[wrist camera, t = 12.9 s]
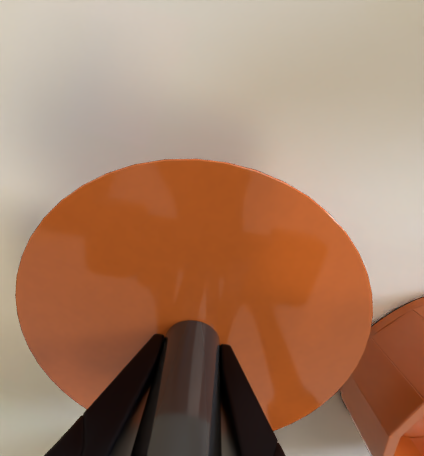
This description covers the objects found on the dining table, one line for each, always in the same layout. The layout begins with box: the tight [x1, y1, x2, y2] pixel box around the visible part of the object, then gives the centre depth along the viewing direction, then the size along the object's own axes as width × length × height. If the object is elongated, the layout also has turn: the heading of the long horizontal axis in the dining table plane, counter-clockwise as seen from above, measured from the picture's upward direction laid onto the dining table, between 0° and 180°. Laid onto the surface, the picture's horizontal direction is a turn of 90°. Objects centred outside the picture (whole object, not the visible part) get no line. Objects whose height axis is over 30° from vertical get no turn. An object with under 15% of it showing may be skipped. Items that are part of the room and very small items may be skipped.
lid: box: [15, 159, 373, 456], centre depth 7 cm, size 15×15×6 cm
